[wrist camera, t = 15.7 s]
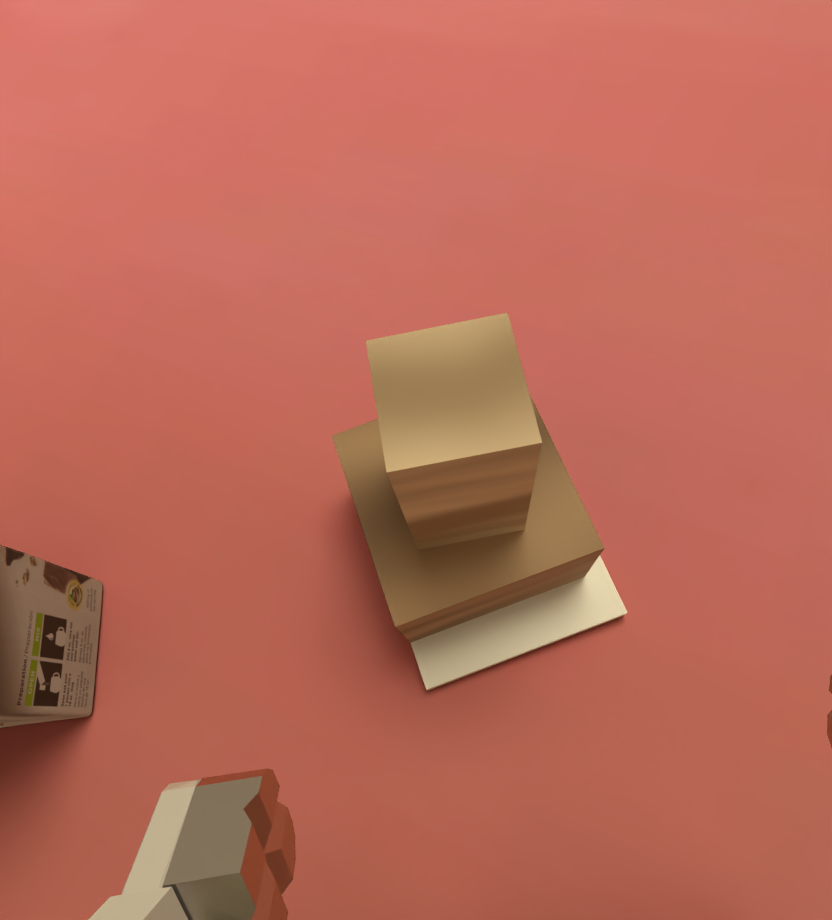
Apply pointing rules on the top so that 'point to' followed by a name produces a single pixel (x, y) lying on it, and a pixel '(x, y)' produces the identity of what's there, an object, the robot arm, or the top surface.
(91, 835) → the top surface
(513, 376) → the oak block
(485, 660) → the baseplate
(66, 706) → the coffee box
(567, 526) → the walnut brick
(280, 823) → the robot arm
